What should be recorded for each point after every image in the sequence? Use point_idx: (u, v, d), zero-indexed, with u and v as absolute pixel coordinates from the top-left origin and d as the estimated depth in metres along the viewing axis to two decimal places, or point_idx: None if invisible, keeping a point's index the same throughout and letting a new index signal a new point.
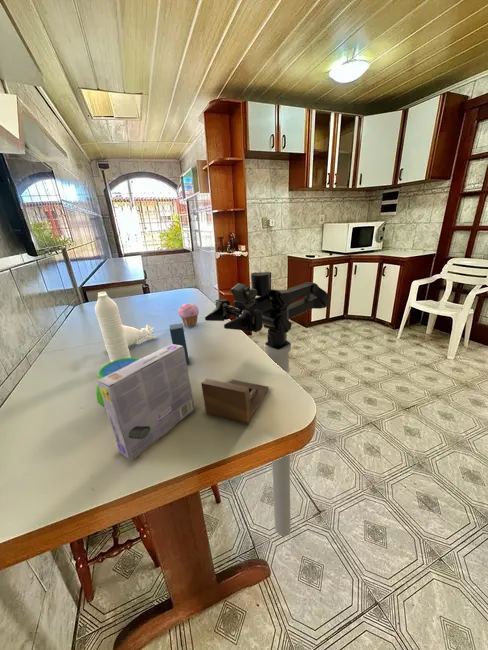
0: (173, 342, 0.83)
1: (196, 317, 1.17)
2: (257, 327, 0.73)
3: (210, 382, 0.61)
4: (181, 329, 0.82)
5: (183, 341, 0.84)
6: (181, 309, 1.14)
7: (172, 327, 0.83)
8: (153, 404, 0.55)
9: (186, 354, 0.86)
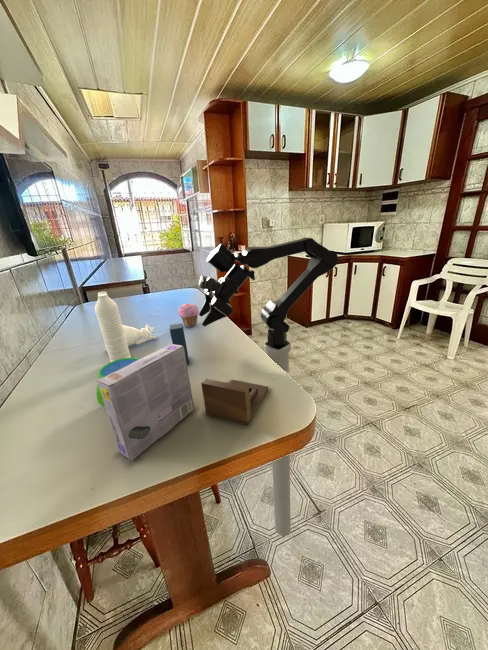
0: (173, 342, 0.83)
1: (196, 317, 1.17)
2: (225, 313, 0.76)
3: (210, 382, 0.61)
4: (181, 329, 0.82)
5: (183, 341, 0.84)
6: (181, 309, 1.14)
7: (172, 327, 0.83)
8: (153, 404, 0.55)
9: (186, 354, 0.86)
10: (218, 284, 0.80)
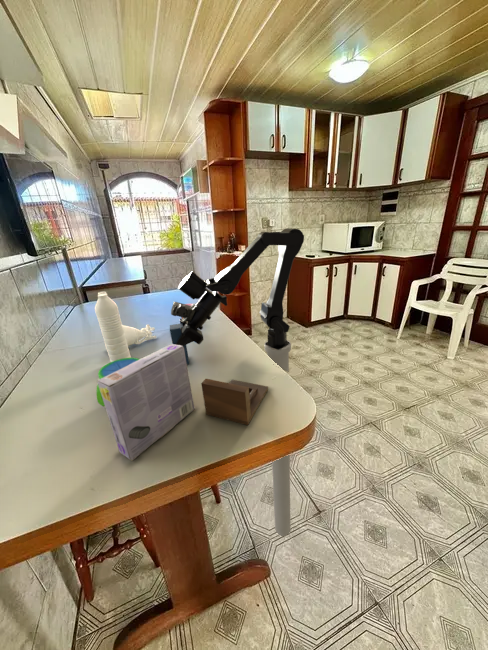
0: (173, 342, 0.83)
1: None
2: (196, 341, 0.77)
3: (210, 382, 0.61)
4: None
5: None
6: None
7: (172, 327, 0.83)
8: (153, 404, 0.55)
9: (186, 354, 0.86)
10: (190, 311, 0.81)
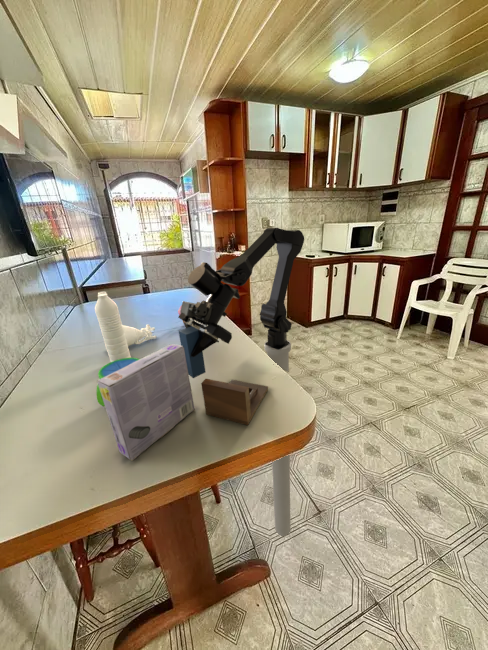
0: (189, 349, 0.69)
1: None
2: (226, 341, 0.67)
3: (210, 382, 0.61)
4: (197, 332, 0.69)
5: None
6: None
7: (186, 332, 0.68)
8: (153, 404, 0.55)
9: (202, 361, 0.73)
10: (206, 309, 0.69)
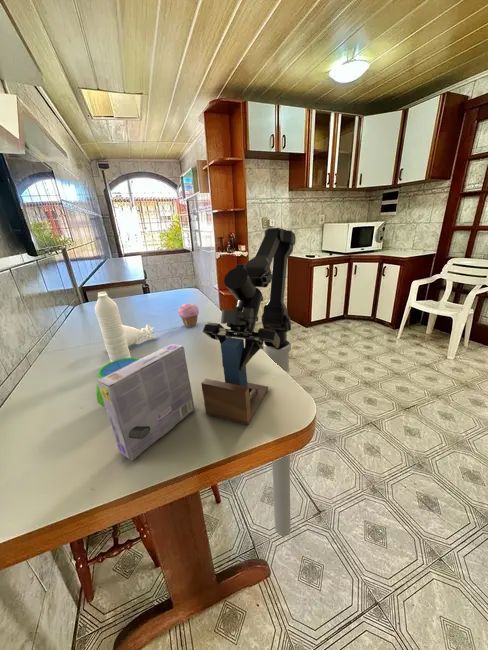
0: (238, 363, 0.61)
1: (196, 317, 1.17)
2: (277, 345, 0.63)
3: (210, 382, 0.61)
4: (242, 342, 0.62)
5: None
6: (181, 309, 1.14)
7: (233, 344, 0.60)
8: (153, 404, 0.55)
9: (245, 374, 0.66)
10: None
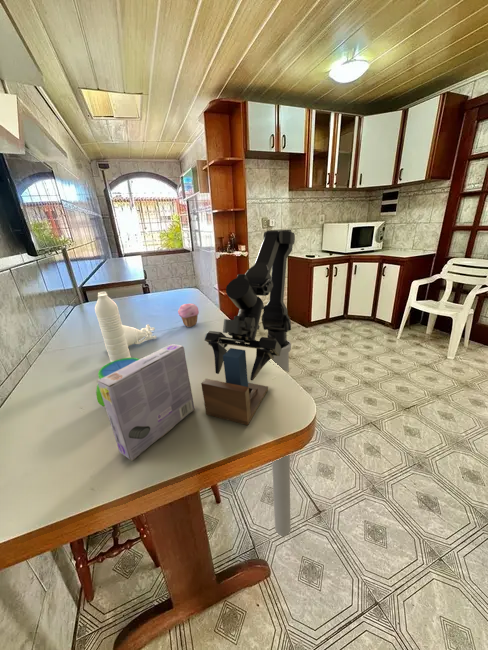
0: (240, 374, 0.62)
1: (196, 317, 1.17)
2: (278, 353, 0.64)
3: (210, 382, 0.61)
4: (244, 353, 0.63)
5: (245, 368, 0.65)
6: (181, 309, 1.14)
7: (235, 355, 0.61)
8: (153, 404, 0.55)
9: (247, 383, 0.67)
10: None
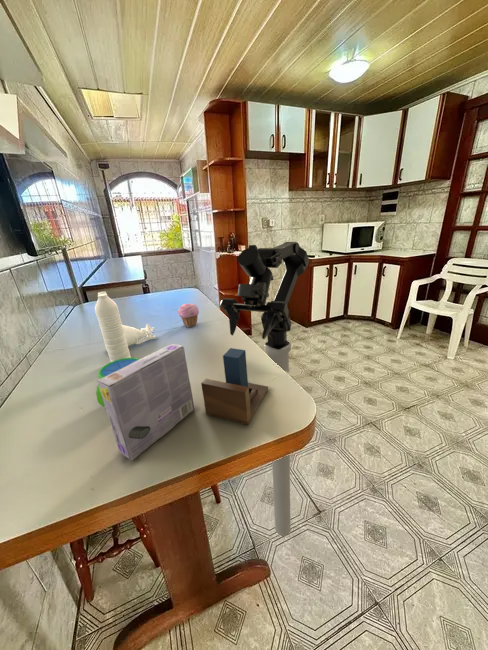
0: (240, 374, 0.62)
1: (196, 317, 1.17)
2: (286, 316, 0.72)
3: (210, 382, 0.61)
4: (244, 353, 0.63)
5: (245, 368, 0.65)
6: (181, 309, 1.14)
7: (235, 355, 0.61)
8: (153, 404, 0.55)
9: (247, 383, 0.67)
10: None
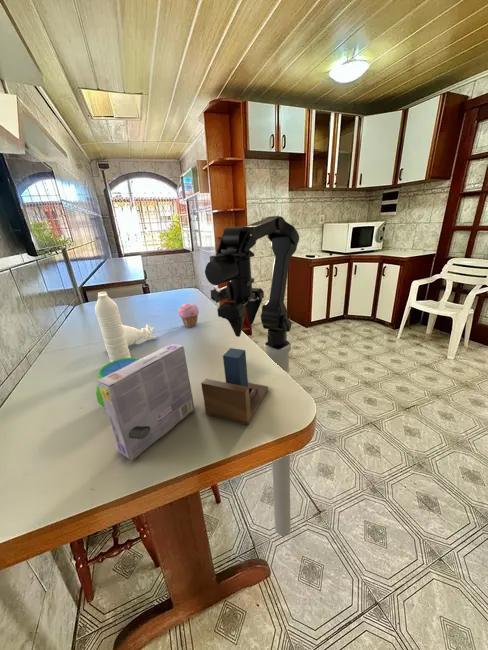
0: (240, 374, 0.62)
1: (196, 317, 1.17)
2: (233, 316, 0.66)
3: (210, 382, 0.61)
4: (244, 353, 0.63)
5: (245, 368, 0.65)
6: (181, 309, 1.14)
7: (235, 355, 0.61)
8: (153, 404, 0.55)
9: (247, 383, 0.67)
10: (226, 289, 0.72)
